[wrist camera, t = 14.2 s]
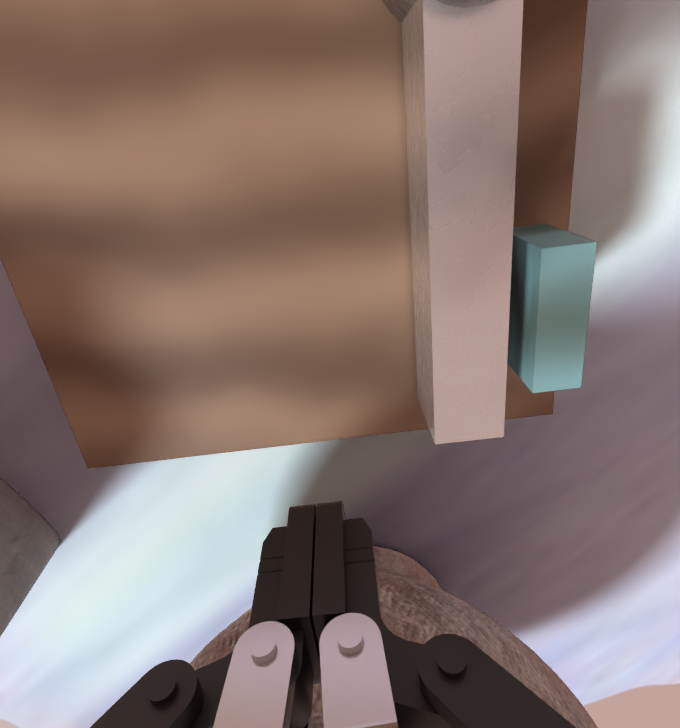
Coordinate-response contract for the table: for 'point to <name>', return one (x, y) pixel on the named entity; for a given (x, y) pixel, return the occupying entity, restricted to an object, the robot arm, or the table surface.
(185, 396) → the lock board
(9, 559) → the hip flask
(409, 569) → the ceramic pot
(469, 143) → the bar
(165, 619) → the table surface
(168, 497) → the table surface
